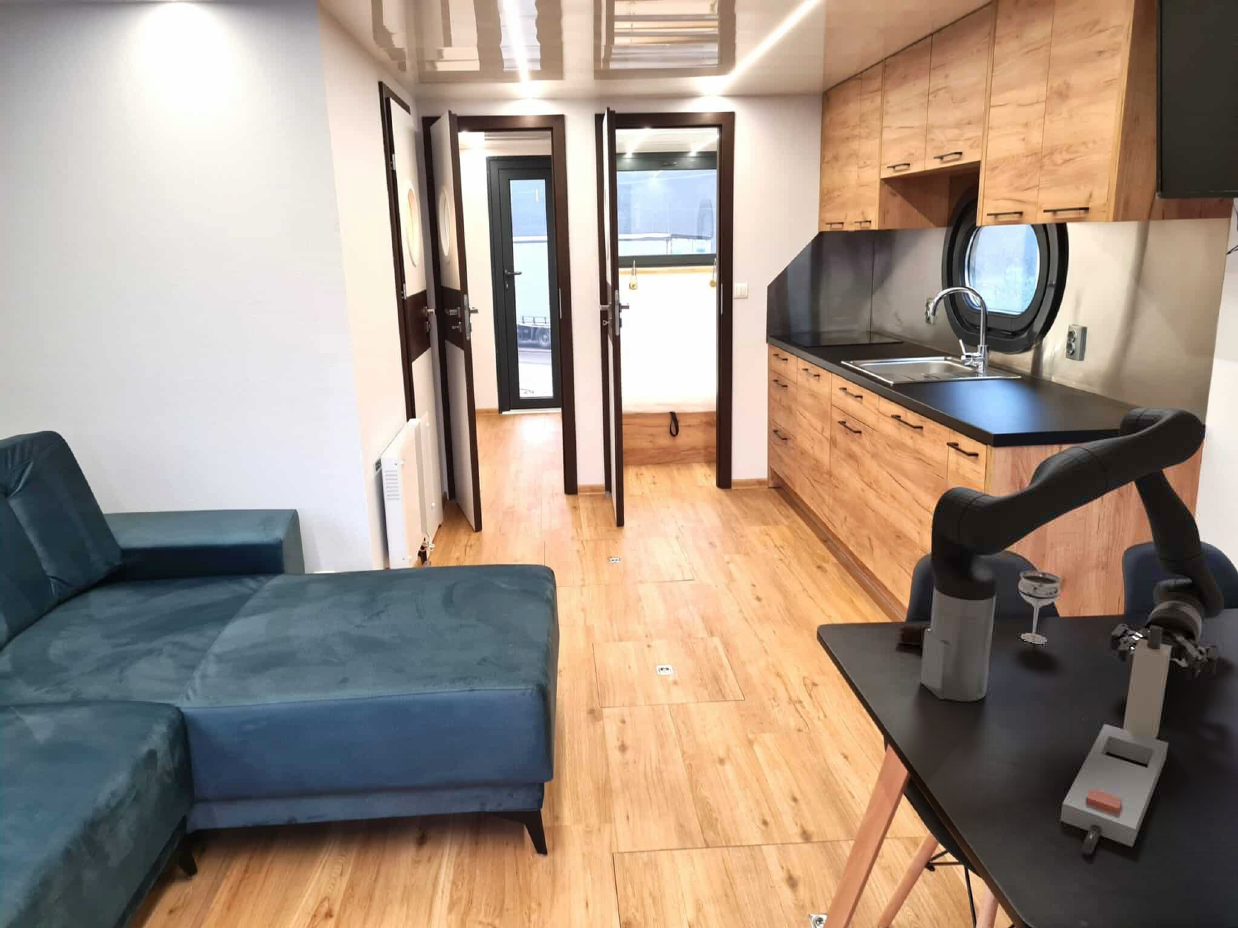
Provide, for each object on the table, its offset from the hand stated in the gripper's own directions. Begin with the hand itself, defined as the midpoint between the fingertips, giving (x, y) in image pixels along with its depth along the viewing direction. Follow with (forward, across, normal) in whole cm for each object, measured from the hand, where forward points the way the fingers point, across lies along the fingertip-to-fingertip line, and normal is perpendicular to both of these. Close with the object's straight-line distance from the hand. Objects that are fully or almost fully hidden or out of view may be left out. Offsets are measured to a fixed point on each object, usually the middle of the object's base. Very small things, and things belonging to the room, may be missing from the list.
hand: (1155, 664), depth 134 cm
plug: (+7, 0, +8) cm, 11 cm away
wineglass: (-18, -21, +9) cm, 29 cm away
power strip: (+26, 0, +9) cm, 28 cm away
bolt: (-4, -33, +9) cm, 34 cm away
